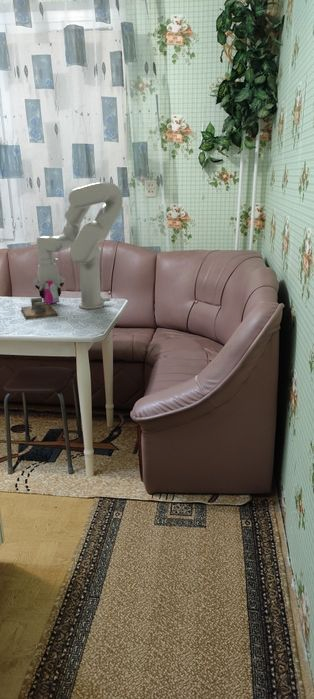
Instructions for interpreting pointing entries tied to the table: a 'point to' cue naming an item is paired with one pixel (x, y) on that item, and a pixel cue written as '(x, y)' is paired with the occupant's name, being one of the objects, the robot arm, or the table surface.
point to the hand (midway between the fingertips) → (50, 296)
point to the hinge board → (38, 309)
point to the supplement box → (50, 293)
